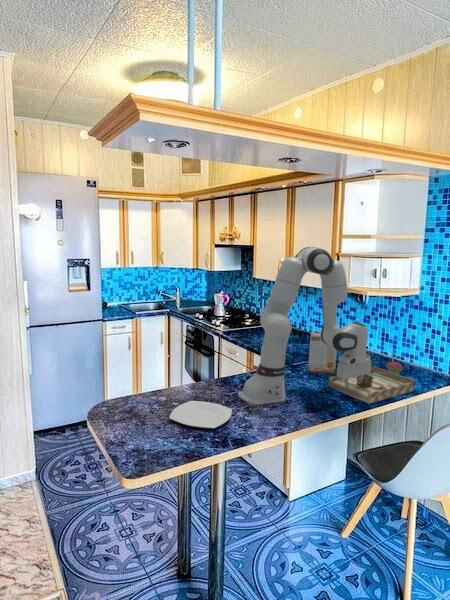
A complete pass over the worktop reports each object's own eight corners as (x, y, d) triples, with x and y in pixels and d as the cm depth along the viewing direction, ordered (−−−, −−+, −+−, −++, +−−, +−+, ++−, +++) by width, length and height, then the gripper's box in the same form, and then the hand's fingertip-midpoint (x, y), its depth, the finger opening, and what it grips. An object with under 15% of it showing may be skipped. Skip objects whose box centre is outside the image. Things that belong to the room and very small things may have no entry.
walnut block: (364, 388, 200) (365, 378, 199) (356, 384, 204) (357, 374, 203) (371, 386, 203) (372, 376, 202) (363, 383, 207) (364, 373, 206)
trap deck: (368, 403, 188) (369, 392, 187) (328, 386, 207) (329, 375, 207) (413, 391, 206) (415, 380, 205) (372, 376, 226) (373, 366, 225)
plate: (188, 402, 181) (188, 397, 181) (238, 412, 173) (238, 408, 173) (161, 423, 160) (161, 418, 160) (217, 436, 152) (217, 431, 152)
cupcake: (385, 375, 227) (387, 354, 226) (385, 371, 235) (387, 350, 234) (402, 378, 225) (405, 356, 223) (401, 373, 233) (403, 352, 231)
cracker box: (333, 370, 233) (336, 333, 229) (335, 374, 227) (338, 336, 223) (307, 368, 234) (310, 331, 231) (308, 372, 228) (311, 334, 225)
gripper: (365, 352, 204) (362, 379, 207) (335, 357, 193) (333, 386, 196) (376, 355, 199) (373, 383, 201) (346, 361, 188) (343, 390, 190)
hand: (353, 384), depth 198 cm, fingers open, 7 cm apart
